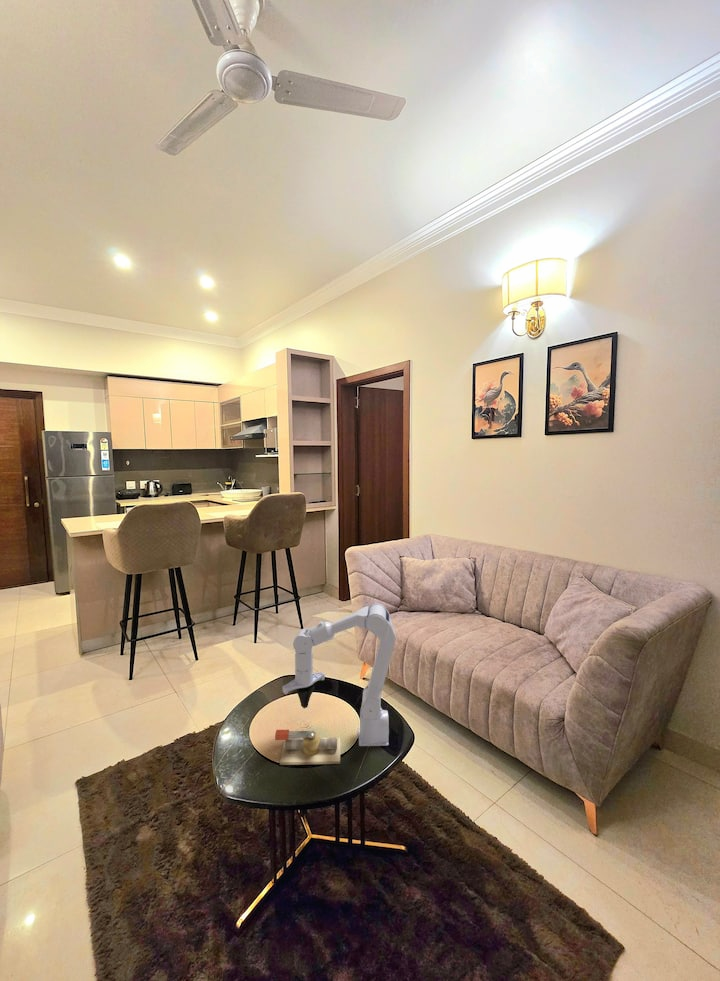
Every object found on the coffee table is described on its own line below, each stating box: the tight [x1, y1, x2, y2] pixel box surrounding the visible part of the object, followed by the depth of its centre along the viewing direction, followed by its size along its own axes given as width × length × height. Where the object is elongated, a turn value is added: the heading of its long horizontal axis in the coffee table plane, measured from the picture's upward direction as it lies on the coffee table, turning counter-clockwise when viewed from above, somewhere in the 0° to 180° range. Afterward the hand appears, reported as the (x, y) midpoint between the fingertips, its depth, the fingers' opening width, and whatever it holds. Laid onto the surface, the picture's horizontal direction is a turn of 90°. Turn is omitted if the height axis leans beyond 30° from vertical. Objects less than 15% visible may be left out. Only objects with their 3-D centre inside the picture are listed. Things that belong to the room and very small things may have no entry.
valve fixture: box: [279, 731, 341, 766], centre depth 125 cm, size 18×10×5 cm, turn 93°
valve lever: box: [274, 729, 316, 741], centre depth 124 cm, size 12×2×2 cm, turn 92°
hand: (304, 706), depth 132 cm, fingers closed
